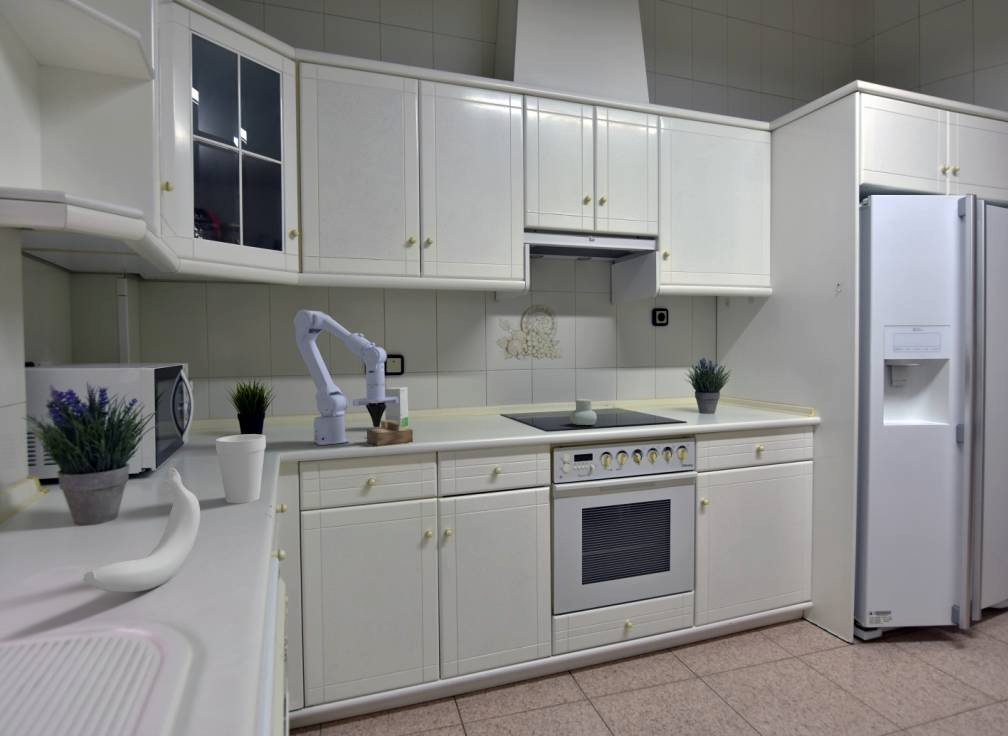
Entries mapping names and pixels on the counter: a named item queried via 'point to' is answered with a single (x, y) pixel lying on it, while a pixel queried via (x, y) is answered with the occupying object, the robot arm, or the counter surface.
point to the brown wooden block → (389, 437)
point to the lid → (390, 428)
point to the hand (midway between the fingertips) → (376, 426)
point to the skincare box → (397, 406)
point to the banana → (166, 553)
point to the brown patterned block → (384, 423)
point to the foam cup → (241, 466)
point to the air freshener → (583, 413)
